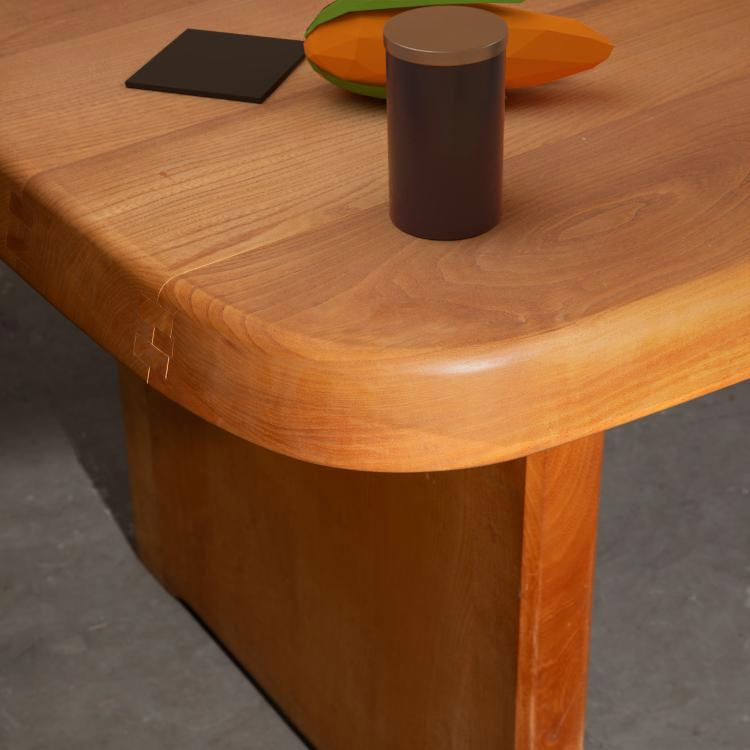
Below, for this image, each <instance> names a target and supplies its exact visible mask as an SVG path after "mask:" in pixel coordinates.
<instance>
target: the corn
mask: <svg viewBox="0 0 750 750" xmlns="http://www.w3.org/2000/svg"><path fill="white" fill-rule="evenodd" d="M525 1H526V0H334V1H333V2H331V3H329V4H327V5H326V6H325V7H323V8H322V9H321V10H320V11H319V13H318V14H317V16H315V18H314V19H313V21H311V23H310V24H309V25H308V27H307V28H306V29H305V33H304V35H303V39H304V41H305V42H304V50H305V54H304V55H305V56H306V57H305V60H306V62H307V63H308V64H309V65H310V67H311V68H312V70H314V72H316V74H318V76H319V77H320V78H323V79H324V80H325V81H327V82H329V83H330V84H332V85H335V86H336V87H338V88H341V89H343V90H345V91H346V92H350V93H353V94H358V95H362V96H366V97H371V98H375V99H379V100H387V96H386V55H385V47H384V44H383V28H384V25H385V24H386V22H387V21H388V20H390V19H391V18H392V17H394V16H396V15H398V14H400V13H403V12H406V11H409V10H413V9H417V8H423V7H431V6H464V7H472V8H477V9H481V10H485V11H488V12H491V13H494V14H496V15H498V16H499V17H501V18H502V19H503V20H504V21H505V22H506V23H507V25H508V29H509V33H508V44H507V46H506V75H505V90H510V89H518V88H519V89H520V88H527V87H536V86H541V85H544V84H547V83H550V82H554V81H557V80H560V79H563V78H567V77H570V76H573V75H576V74H579V73H583V72H586V71H589V70H593V69H594V68H596V67H597V66H599V65H600V64H602V63H603V62H605V61H607V59H609V58H610V55H611V54H612V52H613V50H614V48H615V46H614V43H612V41H610V40H609V38H607V37H605V36H604V35H603V34H601V33H599V32H598V31H596V30H594V29H593V28H592V27H590V26H588V25H586V24H585V23H584V22H582V21H581V20H578V19H573V18H569V17H563V16H557V15H553V14H547V13H543V12H542V13H541V12H537V11H532V10H526V9H520V8H514V7H511V6H504V5H499V4H522V3H524V2H525ZM507 99H508V97H507V94H505V100H507Z"/></svg>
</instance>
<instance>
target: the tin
mask: <svg viewBox="0 0 750 750" xmlns="http://www.w3.org/2000/svg"><path fill="white" fill-rule="evenodd" d="M508 33H509V29H508V25H507V23H506V22H505V21H504V20H503V19H502V18H501V17H499V16H498V15H496V14H494V13H491V12H488V11H485V10H481V9H477V8H472V7H464V6H431V7H423V8H417V9H413V10H409V11H406V12H403V13H400V14H398V15H396V16H394V17H392V18H391V19H390V20H388V21H387V22H386V24H385V25H384V28H383V44H384V47H385V55H386V96H387V99H386V131H387V134H386V135H387V136H386V137H387V172H388V173H387V175H388V212H389V214H388V215H389V218H390V220H391V222H392V223H393V225H394V226H396V227H397V228H398V229H400V230H401V231H403V232H404V233H406V234H409V235H412V236H415V237H419V238H422V239H428V240H436V241H452V240H463V239H468V238H472V237H475V236H478V235H481V234H484V233H485V232H488V231H490V230H491V229H492V228H494V227H495V226H496V225H497V224H498V223H499V222H500V220H501V218H502V215H503V188H504V187H503V186H504V149H505V148H504V146H505V145H504V144H505V111H506V110H505V109H506V99H505V95H506V89H505V75H506V46H507V44H508Z"/></svg>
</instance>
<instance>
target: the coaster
mask: <svg viewBox="0 0 750 750" xmlns="http://www.w3.org/2000/svg"><path fill="white" fill-rule="evenodd" d="M304 42H305V40H299V39H291V38H281V37H271V36H262V35H253V34H243V33H235V32H225V31H217V30H216V31H215V30H206V29H198V28H189V27H188V28H185V30H183V31H182V32H181V33H180V34H179V35H178V36H176V37H175V38H174V39H173V40H172V41H171V42H169V44H167V45H166V46H165V47H164V48H163V49H161V50H160V51H158V53H157V54H155V55H154V56H153V57H152V58H151V59H150V60H148V61H147V62H146V63H145V64H144V65H143V66H141V67H140V68H139V69H138V70H136V71H135V72H134V73H133V74H132V75H131V76H130V77H128V78H127V79H125V81H124V87H125V88H132V89H141V90H150V91H157V92H165V93H173V94H181V95H190V96H197V97H205V98H206V97H207V98H215V99H223V100H231V101H238V102H239V101H240V102H247V103H255V104H262V103H263V102H264V101H265V100H266V99H267V98H268V96H270V95H271V93H272V92H274V90H275V89H277V88H278V86H279V85H280V84H281V83H282V82H283V81H284V80H285V79H286V78H287V77H288V76H289V75H290V74H291V73H292V72H293V71H294V70H295V69H296V68H297V67H298V66H299V64H301V62H302V61H303V60H305V59H306V56H305V55H304V54H305V50H304Z"/></svg>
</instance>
